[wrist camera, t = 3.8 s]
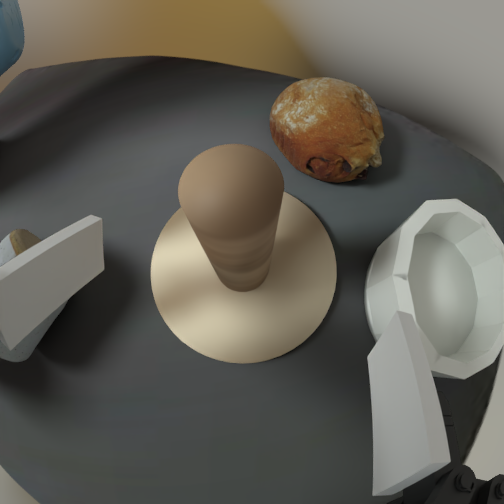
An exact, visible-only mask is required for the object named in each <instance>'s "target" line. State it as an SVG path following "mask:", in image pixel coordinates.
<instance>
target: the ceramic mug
mask: <svg viewBox="0 0 504 504" xmlns="http://www.w3.org/2000/svg"><path fill="white" fill-rule="evenodd" d="M39 242H41V240H40V239H39V238H38V237H36V236H35V235H34V234H32V233H30V232H29V231H27V230H24V229H16V230H14V231H12V232H11V233H10V234H9V235H8V236H6V237H5V238H4V239H3V240H2V241H1V243H0V267H1V265H3V264H4V263H7V262H8V261H9V260H11V259H12V258H14V257H15V256H17V255H19V254H21V253H23V252H24V251H26V250H28V249H29V248H31V247H33V246H34V245H36V244H38V243H39ZM67 301H68V300H66V301H65V302H64V303H63V304H62V305H60V306H59V307H58V308H57V309H56V310H55V311H53V312H52V313H51V314H50V315H49V316H48V317H47V318H45V319H44V320H43V321H42V322H41V323H40V324H39V325H38V326H37V327H35V328H34V329H33V330H32V331H31V332H30V333H29V334H28V335H27V336H26V337H25V338H23V339H22V340H21V341H20V342H19V343H18V344H17V345H16V346H15V347H14V348H13V349H12V350H11V351H10V350H9V349H8V348H7V347H6V346H5V345H4V344H3V343H2V342H1V341H0V358H2V359H5V360H8V361H11V362H22V361H24V360H26V359H28V358H29V356H30V355H31V354H32V352H33V350H34V349H35V347H36V346H37V344H38V343H39V341H40V340H41V338H42V337H43V336H44V334H45V333H46V331H47V330H48V328H49V327H50V325H51V324H52V322H53V321H54V320H55V318H56V317H57V316H58V315H59V313H60V312H61V311H62V309H63V308H64V307H65V305H66V303H67Z"/></svg>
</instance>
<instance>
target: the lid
mask: <svg viewBox="0 0 504 504" xmlns="http://www.w3.org/2000/svg"><path fill="white" fill-rule="evenodd" d="M178 196H179V201H180V204H181V208H180V209H179V210H178V211H177V212H176V213H175V214H174V215H173V216H172V217H171V218H170V220H169V221H168V222H167V224H166V225H165V227H164V228H163V230H162V232H161V234H160V236H159V238H158V240H157V243H156V246H155V249H154V252H153V257H152V263H151V284H152V291H153V295H154V299H155V302H156V305H157V307H158V310H159V312H160V314H161V316H162V317H163V319H164V321H165V322H166V324H167V325H168V326H169V328H170V329H171V330H172V332H173V333H174V334H175V335H176V336H177V337H178V338H179V339H180V340H181V341H183V342H184V343H185V344H187V345H188V346H189V347H191V348H192V349H194V350H196V351H197V352H199V353H201V354H203V355H205V356H208V357H211V358H213V359H216V360H221V361H225V362H231V363H256V362H261V361H266V360H270V359H273V358H275V357H278V356H281V355H283V354H285V353H287V352H289V351H291V350H293V349H294V348H295V347H297V346H298V345H300V344H301V343H303V342H304V341H305V340H306V339H307V338H308V337H309V336H310V335H311V334H312V333H313V332H314V331H315V330H316V328H317V327H318V326H319V325H320V323H321V322H322V320H323V319H324V317H325V315H326V314H327V312H328V309H329V307H330V305H331V302H332V299H333V295H334V292H335V287H336V278H337V266H336V259H335V253H334V249H333V246H332V243H331V240H330V238H329V236H328V233H327V231H326V230H325V228H324V226H323V225H322V223H321V222H320V220H319V219H318V218H317V217H316V215H315V214H314V213H313V212H312V211H311V210H310V209H309V208H308V207H307V206H306V205H305V204H303V203H302V202H301V201H299V200H298V199H297V198H295V197H293V196H291V195H290V194H288V193H286V192H284V180H283V176H282V173H281V171H280V169H279V167H278V165H277V164H276V162H275V161H274V160H273V159H272V158H271V157H270V156H268V155H267V154H266V153H264V152H263V151H261V150H259V149H257V148H254V147H251V146H247V145H242V144H226V145H220V146H216V147H213V148H211V149H208V150H206V151H204V152H202V153H201V154H199V155H198V156H197V157H195V158H194V159H193V160H192V161H191V162H190V163H189V164H188V166H187V167H186V168H185V170H184V172H183V174H182V176H181V178H180V182H179V187H178Z"/></svg>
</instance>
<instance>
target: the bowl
mask: <svg viewBox="0 0 504 504" xmlns="http://www.w3.org/2000/svg"><path fill="white" fill-rule="evenodd" d="M364 305H365V314H366V318H367V322H368V325H369V328H370V331H371V334H372V336H373V338H374V340H375V342H376V343H377V341H378V340H379V338H380V337H381V335H382V334H383V332H384V330H385V329H386V327H387V326H388V324H389V322H390V321H391V319H392V317H393V316H394V314H395V312H396V311H397V310H399V311H402V312H406V313H409V314H412V316H413V319H414V322H415V324H416V327H417V330H418V333H419V335H420V338H421V341H422V344H423V347H424V350H425V353H426V357H427V360H428V363H429V366H430V370H431V373H432V376H433V377H443V378H454V379H466V378H468V377H470V376H472V375H473V374H475V373H477V372H479V371H480V370H482V369H484V368H485V367H487V366H489V365H490V364H492V363H493V362H494V361H495V359H496V357H497V355H498V354H499V352H500V350H501V348H502V346H503V345H504V245H503V243H502V242H501V240H500V238H499V237H498V235H497V234H496V232H495V231H494V229H493V228H492V226H491V225H490V223H489V222H488V220H487V219H486V218H485V217H484V216H483V215H481V214H480V213H478V212H477V211H475V210H474V209H472V208H471V207H469V206H467V205H466V204H464V203H463V202H461V201H459V200H458V199H445V200H426V201H425V202H424V203H423V204H422V205H421V206H420V207H419V208H418V209H417V210H416V211H415V212H414V213H413V214H412V215H411V216H410V217H409V218H407V219H406V220H405V221H404V222H403V223H402V224H401V225H400V226H399V227H398V228H397V229H396V230H395V231H394V232H393V233H392V234H391V235H390V236H389V237H388V238H387V239H385V240H384V241H383V243H382V244H381V245H380V246H379V247H378V248H377V250H376V252H375V253H374V255H373V257H372V259H371V262H370V264H369V267H368V270H367V274H366V279H365V287H364Z"/></svg>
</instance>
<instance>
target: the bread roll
mask: <svg viewBox="0 0 504 504" xmlns="http://www.w3.org/2000/svg"><path fill="white" fill-rule="evenodd" d="M270 130H271V134H272V138H273V140H274V142H275V144H276V145H277V147H278V148H279V150H280V151H281V152H282V153H283V155H284V156H285V157H286V158H287V159H288V160H289V162H290V163H291V164H292V165H293V166H294V167H295V168H296V169H297V170H299V171H301V172H303V173H305V174H307V175H309V176H311V177H313V178H315V179H318V180H321V181H328V182H336V183H339V182H345V181H350V180H353V179H361V180H366V178H367V173H368V170H367V167H368V166H373V167H378V166H380V165H381V162H382V158H381V155H380V153H379V152H380V149H379V146H380V145H381V142H382V141H383V140H384V137H385V136H384V133H383V126H382V120H381V116H380V114H379V111H378V109H377V106H376V104H375V102H374V101H373V100H372V98H371V97H370V96H369V95H368V94H367V93H366V92H365V91H364V90H363V89H361V88H359V87H358V86H356V85H355V84H352V83H348V82H345V81H342V80H339V79H334V78H329V77H321V78H320V77H319V78H309V79H303V80H300V81H298V82H295V83H293V84H291V85H290V86H288V87H287V88H286V89H285V90H284V91H283V92H281V94H280V95H279V96H278V97H277V99H276V100H275V102H274V104H273V106H272V108H271V113H270Z"/></svg>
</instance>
